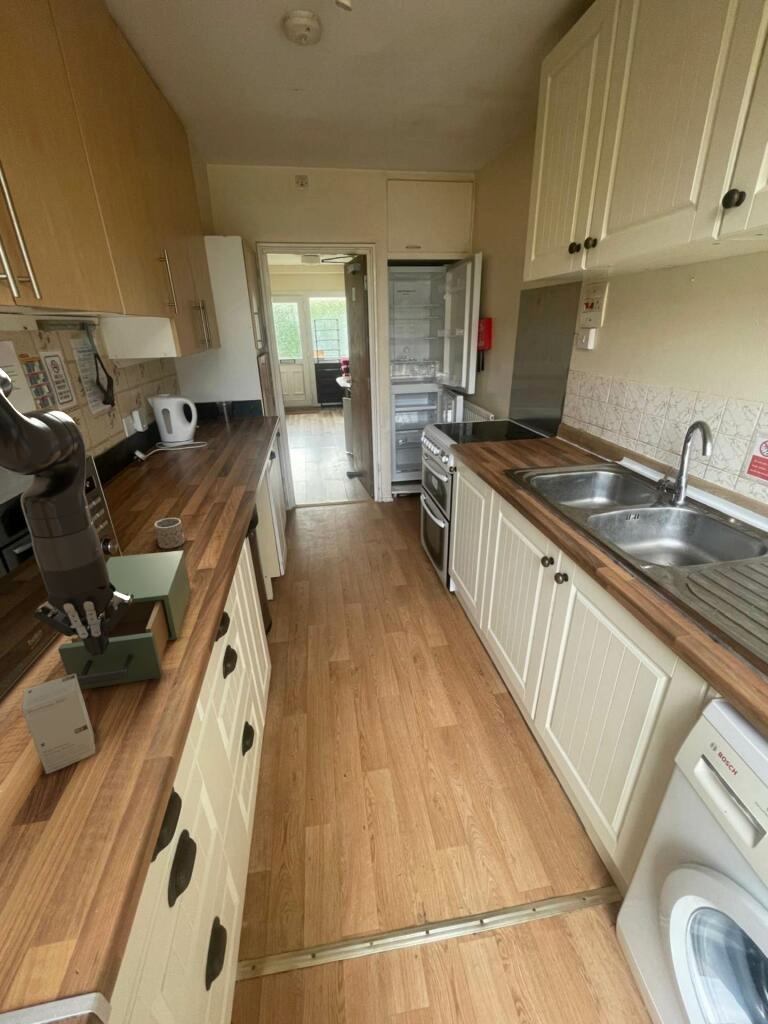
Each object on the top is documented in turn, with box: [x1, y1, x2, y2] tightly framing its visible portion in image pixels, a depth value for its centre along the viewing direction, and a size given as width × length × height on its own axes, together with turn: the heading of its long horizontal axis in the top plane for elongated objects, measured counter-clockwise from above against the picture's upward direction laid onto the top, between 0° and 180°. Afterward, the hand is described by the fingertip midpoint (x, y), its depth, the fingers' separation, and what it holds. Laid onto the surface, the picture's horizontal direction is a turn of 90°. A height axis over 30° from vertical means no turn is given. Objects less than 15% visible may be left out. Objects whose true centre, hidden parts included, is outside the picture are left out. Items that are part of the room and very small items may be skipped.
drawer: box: [57, 599, 170, 691], centre depth 76 cm, size 22×14×9 cm, turn 14°
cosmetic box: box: [21, 674, 96, 775], centre depth 60 cm, size 6×4×12 cm
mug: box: [154, 517, 186, 549], centre depth 121 cm, size 10×7×7 cm, turn 57°
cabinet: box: [106, 550, 192, 641], centre depth 89 cm, size 18×15×11 cm
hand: (99, 651), depth 67 cm, fingers closed
